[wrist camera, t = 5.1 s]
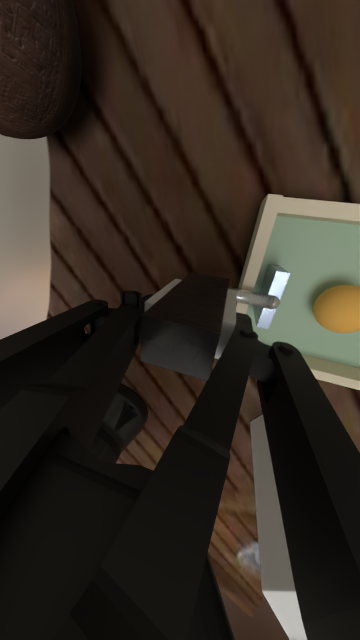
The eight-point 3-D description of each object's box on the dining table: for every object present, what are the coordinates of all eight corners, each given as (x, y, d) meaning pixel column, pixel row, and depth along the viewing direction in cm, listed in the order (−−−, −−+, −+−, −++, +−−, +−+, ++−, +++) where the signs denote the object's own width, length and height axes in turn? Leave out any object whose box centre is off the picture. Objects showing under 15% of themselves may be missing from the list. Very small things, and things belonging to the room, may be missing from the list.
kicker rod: (193, 298, 25) (140, 380, 11) (200, 253, 23) (142, 286, 9) (263, 313, 24) (303, 431, 10) (280, 265, 21) (371, 334, 7)
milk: (301, 425, 32) (402, 719, 13) (275, 439, 35) (324, 694, 16) (272, 406, 32) (330, 673, 12) (248, 421, 35) (266, 656, 15)
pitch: (224, 337, 29) (221, 357, 24) (261, 202, 20) (268, 193, 16) (415, 384, 24) (458, 420, 19) (564, 233, 16) (701, 233, 11)
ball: (299, 315, 23) (314, 335, 18) (318, 276, 21) (339, 287, 16) (344, 325, 22) (371, 347, 18) (369, 284, 20) (407, 299, 15)
